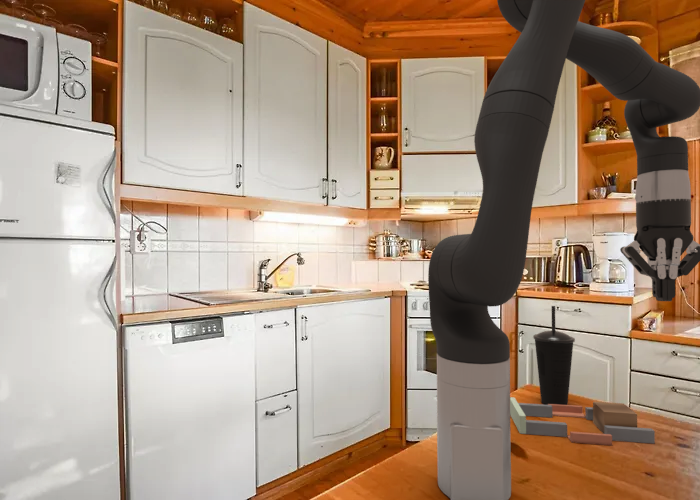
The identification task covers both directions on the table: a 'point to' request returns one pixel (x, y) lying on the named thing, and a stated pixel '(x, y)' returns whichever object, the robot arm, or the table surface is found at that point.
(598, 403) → the walnut block
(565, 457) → the table surface
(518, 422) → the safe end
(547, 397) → the drinking cup
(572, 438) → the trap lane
